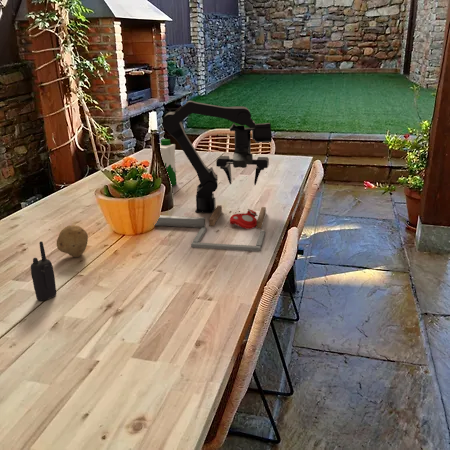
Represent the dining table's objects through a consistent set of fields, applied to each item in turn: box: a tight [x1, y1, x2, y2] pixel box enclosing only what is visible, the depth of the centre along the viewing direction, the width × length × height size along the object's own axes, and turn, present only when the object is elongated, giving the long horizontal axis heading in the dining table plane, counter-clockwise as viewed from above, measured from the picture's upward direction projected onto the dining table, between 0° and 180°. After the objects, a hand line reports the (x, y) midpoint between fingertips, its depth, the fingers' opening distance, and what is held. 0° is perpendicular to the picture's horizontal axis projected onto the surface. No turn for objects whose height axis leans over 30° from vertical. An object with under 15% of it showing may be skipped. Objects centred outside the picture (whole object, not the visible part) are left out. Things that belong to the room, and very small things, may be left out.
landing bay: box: [190, 227, 266, 252], centre depth 152 cm, size 22×14×1 cm, turn 79°
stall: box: [208, 204, 267, 230], centre depth 169 cm, size 18×15×2 cm
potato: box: [56, 224, 89, 258], centre depth 141 cm, size 9×9×10 cm
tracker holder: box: [229, 208, 259, 230], centre depth 166 cm, size 12×4×10 cm
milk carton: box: [159, 138, 177, 187], centre depth 208 cm, size 9×9×20 cm
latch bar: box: [154, 214, 207, 229], centre depth 164 cm, size 18×2×3 cm, turn 79°
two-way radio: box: [30, 241, 57, 302], centre depth 117 cm, size 6×4×15 cm
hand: (242, 184), depth 176 cm, fingers open, 9 cm apart
